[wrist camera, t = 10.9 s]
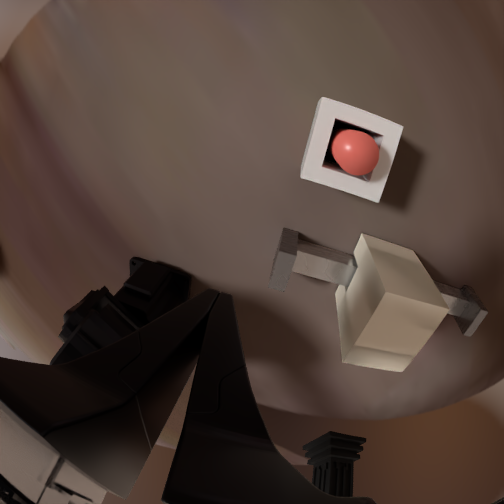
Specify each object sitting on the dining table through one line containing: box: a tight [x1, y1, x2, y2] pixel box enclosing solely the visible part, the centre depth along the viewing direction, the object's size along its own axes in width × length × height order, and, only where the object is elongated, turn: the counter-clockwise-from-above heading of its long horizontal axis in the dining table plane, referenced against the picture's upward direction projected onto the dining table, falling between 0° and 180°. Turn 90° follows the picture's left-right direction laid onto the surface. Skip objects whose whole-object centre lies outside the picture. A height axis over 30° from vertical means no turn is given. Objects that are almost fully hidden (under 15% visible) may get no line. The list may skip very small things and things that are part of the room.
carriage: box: [335, 233, 450, 372], centre depth 18 cm, size 6×5×8 cm
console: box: [300, 97, 403, 203], centre depth 16 cm, size 5×5×4 cm
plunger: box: [328, 128, 379, 175], centre depth 15 cm, size 2×2×5 cm
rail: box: [268, 228, 488, 337], centre depth 20 cm, size 3×20×4 cm, turn 77°
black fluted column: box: [303, 431, 366, 497], centre depth 29 cm, size 8×8×20 cm
